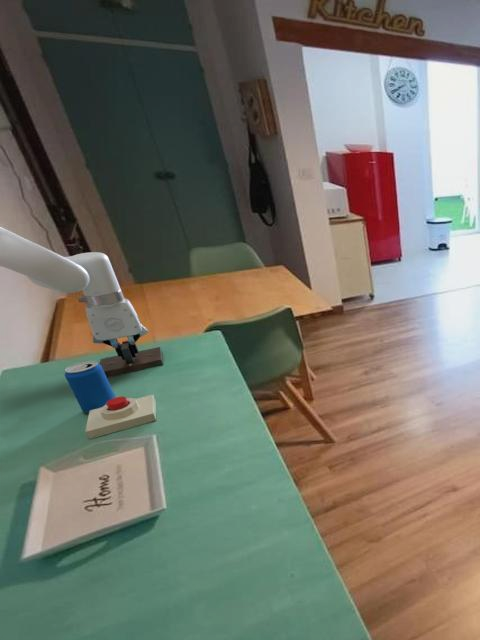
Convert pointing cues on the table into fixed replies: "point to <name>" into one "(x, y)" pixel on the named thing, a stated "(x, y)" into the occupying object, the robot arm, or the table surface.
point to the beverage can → (89, 385)
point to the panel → (141, 361)
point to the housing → (121, 417)
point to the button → (117, 403)
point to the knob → (126, 352)
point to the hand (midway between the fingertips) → (129, 356)
